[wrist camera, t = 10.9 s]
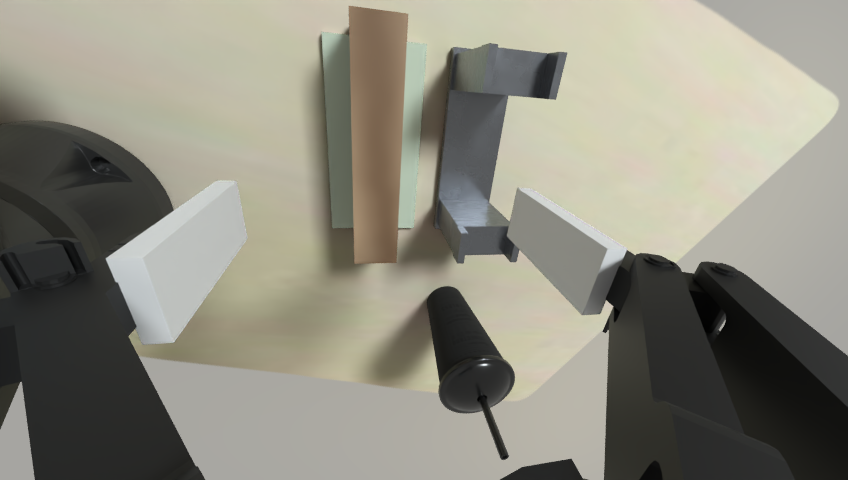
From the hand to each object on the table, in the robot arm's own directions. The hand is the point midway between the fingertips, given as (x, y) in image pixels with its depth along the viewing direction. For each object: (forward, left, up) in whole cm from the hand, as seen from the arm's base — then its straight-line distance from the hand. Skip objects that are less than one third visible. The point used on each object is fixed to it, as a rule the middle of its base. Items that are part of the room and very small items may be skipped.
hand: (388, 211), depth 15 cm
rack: (+10, 0, -19) cm, 21 cm away
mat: (0, 0, -19) cm, 19 cm away
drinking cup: (+10, -20, -19) cm, 29 cm away
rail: (0, 0, -18) cm, 18 cm away
